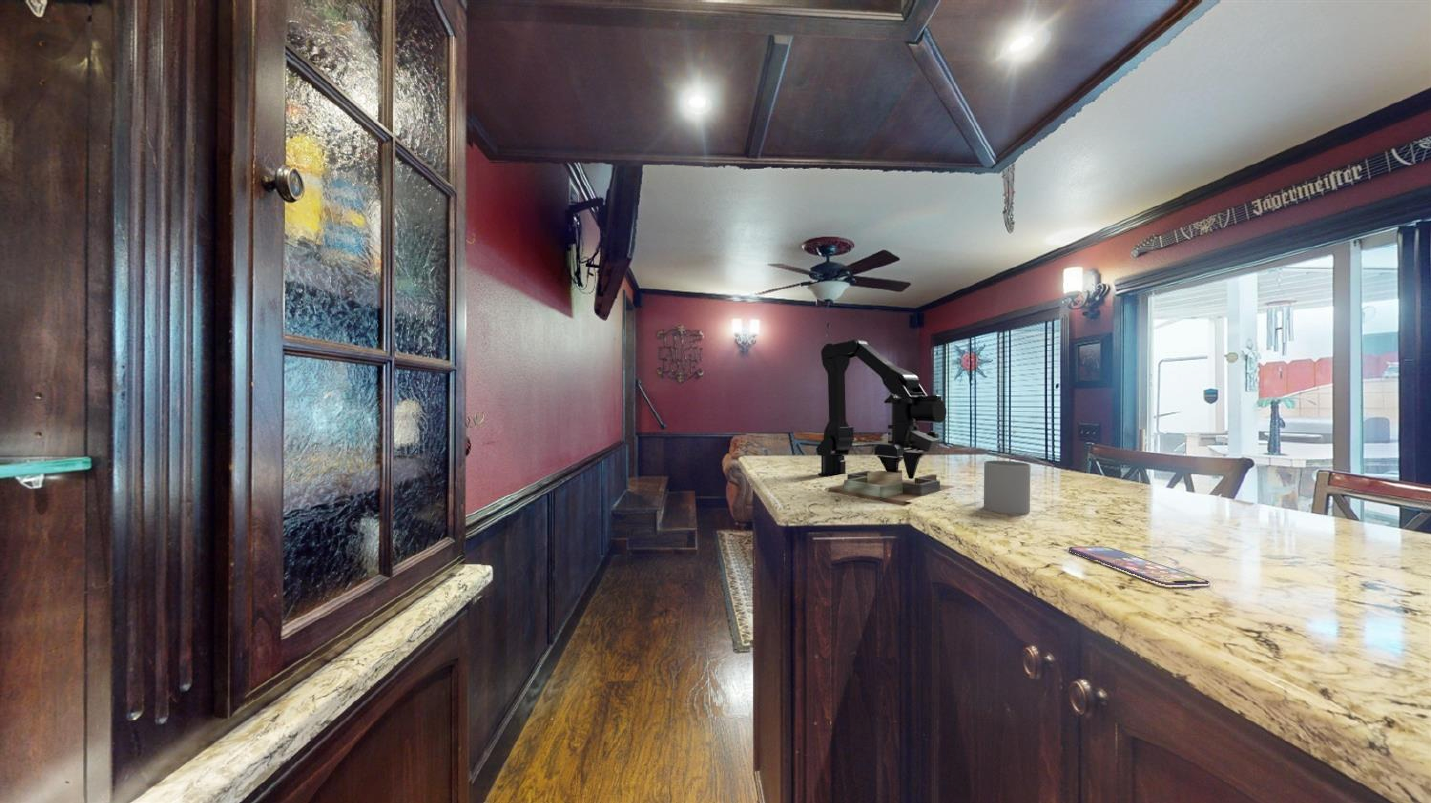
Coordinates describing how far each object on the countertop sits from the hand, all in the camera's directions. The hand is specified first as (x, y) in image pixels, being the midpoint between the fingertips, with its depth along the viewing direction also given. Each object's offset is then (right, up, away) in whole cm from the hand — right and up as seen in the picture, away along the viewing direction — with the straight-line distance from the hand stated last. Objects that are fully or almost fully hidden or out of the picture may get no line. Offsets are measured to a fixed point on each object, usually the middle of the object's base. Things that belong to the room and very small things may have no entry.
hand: (902, 480), depth 125 cm
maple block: (-7, -1, -6) cm, 9 cm away
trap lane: (-4, -2, -3) cm, 6 cm away
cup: (+13, -3, -23) cm, 26 cm away
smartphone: (+11, -4, -57) cm, 58 cm away
